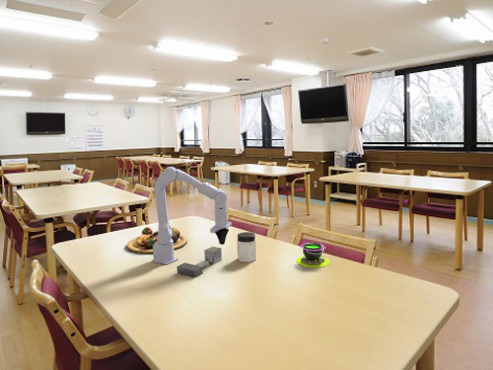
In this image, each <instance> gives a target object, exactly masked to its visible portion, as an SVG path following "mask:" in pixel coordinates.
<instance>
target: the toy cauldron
mask: <svg viewBox="0 0 493 370" xmlns="http://www.w3.org/2000/svg"><path fill="white" fill-rule="evenodd" d="M310 238H311V237H308V240H311V241H312V242H305V243H302V244H300V246H299V248H300V249H302V254H303V255H302V256H299V257H297V258H296V259H295V263H296V264H297V265H298V266H302V267H305V268H311V269H314V268H315V269H317V268H325V267H327V266H329V265H330V260H329V259H328V258H326V257H323V256H322V255H323V252H324V250H326V248H327V247H326V246H325V245H323V244H322V243H316V242H313V241H314V240H317V238H316V239H315V238H314V239H313V238H312V239H310ZM318 241H320V242H321V240H320V239H318Z"/></svg>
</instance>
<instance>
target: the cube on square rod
mask: <svg viewBox="0 0 493 370" xmlns="http://www.w3.org/2000/svg"><path fill="white" fill-rule="evenodd" d="M222 256H223V255H222V248H221V247H218V246H217V247H216V246H210V247H208V248H206V249H204V260H205V261H208V263H209V262H212V266H213V265H216V264H219V263H220V262H222V261H223V259H222Z"/></svg>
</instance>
